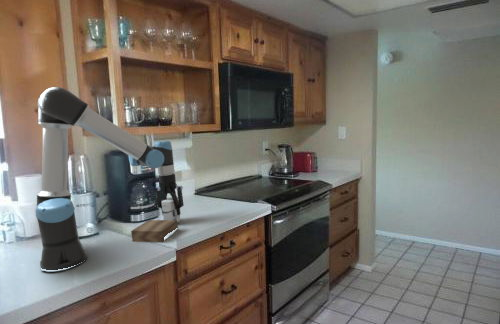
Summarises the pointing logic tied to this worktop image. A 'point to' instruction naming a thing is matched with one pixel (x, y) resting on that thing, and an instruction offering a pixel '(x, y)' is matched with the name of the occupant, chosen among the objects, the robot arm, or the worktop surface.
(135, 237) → the walnut block
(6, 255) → the worktop surface
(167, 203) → the ink box
